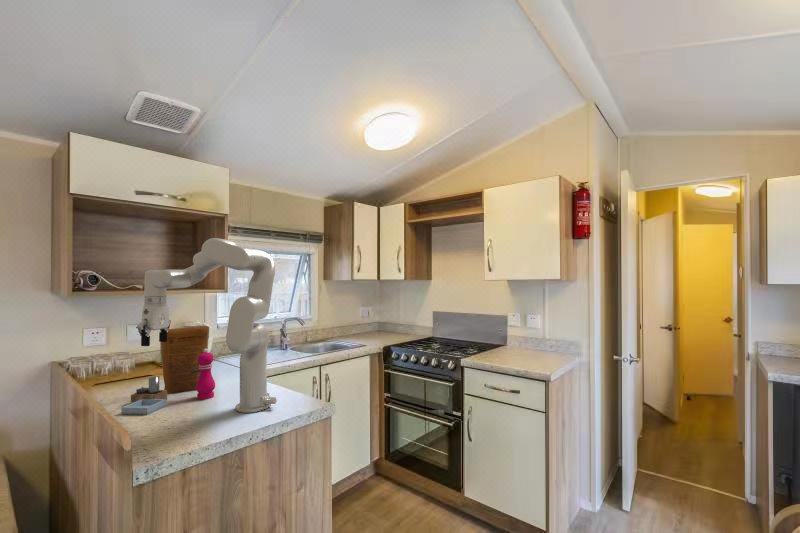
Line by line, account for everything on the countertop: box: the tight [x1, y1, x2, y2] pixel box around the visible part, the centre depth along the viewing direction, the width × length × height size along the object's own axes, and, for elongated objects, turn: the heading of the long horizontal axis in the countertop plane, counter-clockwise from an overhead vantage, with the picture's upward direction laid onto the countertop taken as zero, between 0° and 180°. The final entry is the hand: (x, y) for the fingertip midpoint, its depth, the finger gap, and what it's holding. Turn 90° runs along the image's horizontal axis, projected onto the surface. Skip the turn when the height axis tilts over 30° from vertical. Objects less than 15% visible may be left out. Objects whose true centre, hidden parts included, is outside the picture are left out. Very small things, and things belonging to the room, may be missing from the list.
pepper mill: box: [195, 349, 216, 400], centre depth 161 cm, size 7×7×20 cm
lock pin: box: [148, 375, 160, 394], centre depth 155 cm, size 4×4×10 cm
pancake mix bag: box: [159, 325, 210, 394], centre depth 171 cm, size 7×19×28 cm, turn 120°
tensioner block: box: [130, 386, 168, 404], centre depth 155 cm, size 10×7×6 cm
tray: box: [121, 398, 168, 416], centre depth 146 cm, size 10×10×2 cm
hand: (154, 343), depth 155 cm, fingers open, 9 cm apart
